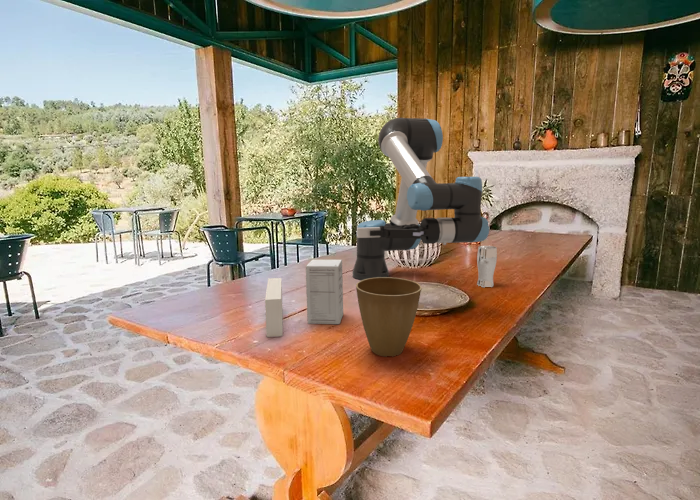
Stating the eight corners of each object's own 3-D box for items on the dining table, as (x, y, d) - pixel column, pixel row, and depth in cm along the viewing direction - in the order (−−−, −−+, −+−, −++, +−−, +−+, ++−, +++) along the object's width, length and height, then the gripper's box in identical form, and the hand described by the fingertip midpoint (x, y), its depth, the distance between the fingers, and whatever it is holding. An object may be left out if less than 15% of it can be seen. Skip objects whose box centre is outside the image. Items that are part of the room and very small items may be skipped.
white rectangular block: (282, 308, 121) (281, 277, 119) (282, 336, 99) (281, 299, 98) (269, 309, 120) (268, 278, 118) (266, 337, 99) (265, 299, 97)
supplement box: (344, 313, 116) (343, 259, 113) (340, 324, 107) (339, 265, 104) (312, 312, 117) (311, 258, 114) (306, 323, 108) (305, 265, 105)
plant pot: (343, 354, 89) (343, 287, 86) (375, 333, 101) (376, 274, 98) (401, 371, 81) (403, 298, 78) (429, 346, 93) (431, 282, 90)
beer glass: (496, 284, 148) (498, 246, 146) (492, 289, 142) (495, 249, 140) (477, 282, 152) (480, 244, 149) (473, 286, 146) (475, 247, 143)
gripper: (444, 246, 107) (362, 249, 103) (427, 240, 120) (353, 242, 116) (445, 220, 106) (362, 222, 102) (428, 216, 119) (353, 217, 115)
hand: (357, 232), depth 109 cm, fingers closed
